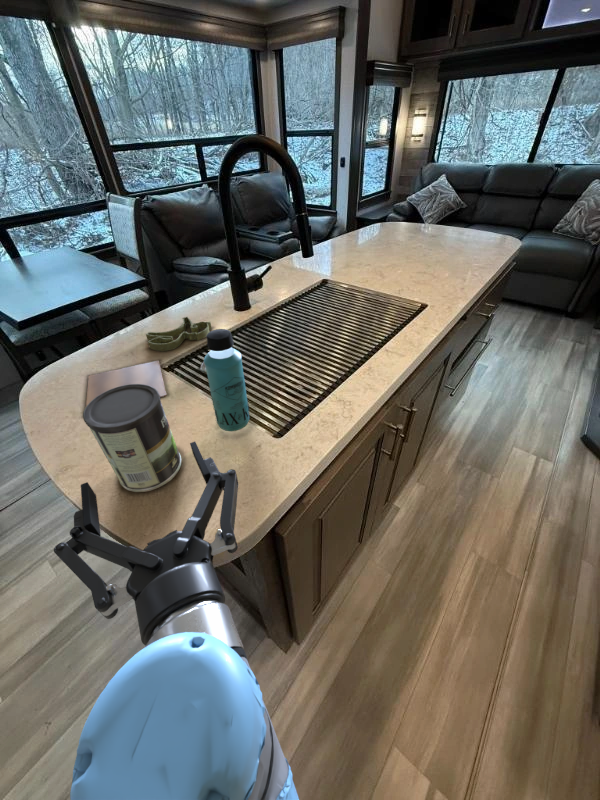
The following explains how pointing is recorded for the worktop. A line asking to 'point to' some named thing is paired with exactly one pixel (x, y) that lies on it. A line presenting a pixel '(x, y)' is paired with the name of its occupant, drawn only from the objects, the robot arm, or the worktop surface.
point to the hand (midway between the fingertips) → (144, 468)
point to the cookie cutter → (165, 339)
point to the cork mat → (126, 379)
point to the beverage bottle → (226, 381)
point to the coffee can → (134, 436)
